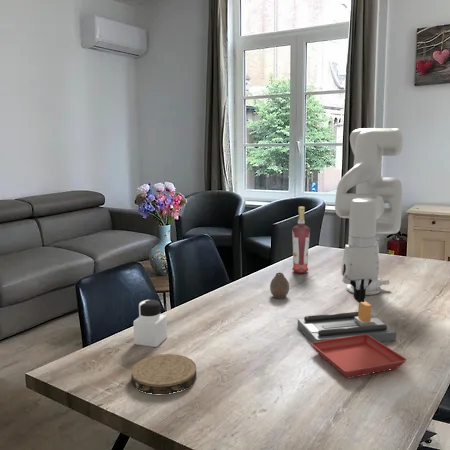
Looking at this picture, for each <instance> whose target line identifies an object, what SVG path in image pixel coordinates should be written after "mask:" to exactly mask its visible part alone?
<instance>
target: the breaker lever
mask: <svg viewBox="0 0 450 450" xmlns="http://www.w3.org/2000/svg"><path fill="white" fill-rule="evenodd" d="M357 309H358V310H357V312H358V316H357V317H354V321H355V322H357V323H358V324H359V325H360V326H371V325H374V321H373V320H372V319H371V314H372V304H370V303H369V302H367V301H366V300H364V302H358V308H357Z"/></svg>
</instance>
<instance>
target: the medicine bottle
mask: <svg viewBox="0 0 450 450" xmlns="http://www.w3.org/2000/svg"><path fill="white" fill-rule="evenodd" d="M138 313H139V314H138V315H139V316H138V317H137V318H136V319H135V320H133V323H132V324H133V338H134V339H133V341H134V345H138V346H143V347H150V348H151V347H152V348H157V347H159V345H160V344H162V343H163V342H164V341H165V340H166V339H168V329H167V327H168V326H167V324H168V323H167V315H166V314H161V302H160V301H158V300H156V299H146V300H142V301H140V302H139V304H138Z"/></svg>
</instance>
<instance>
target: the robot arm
mask: <svg viewBox="0 0 450 450" xmlns="http://www.w3.org/2000/svg"><path fill="white" fill-rule="evenodd" d="M349 142H350V148H351V152H352V153H353V157H354V158H353V159H354V160H353V167H352V168H350V169H349V170H348V171H347V172H346V173H345V174H344V175H343V176H342V177H340V180H339V181H338V183H337V185H336V186H337V187H336V193H335V200H334V212H335V214H336V216H338V217H339V218H343V219H348V220H349V221H348V241H347V242H348V244H345V246H344V250H343V254H342V261H341V271H340V272H341V273H340V274H341V276H343V277H342V283H344V284H345V285H346V287H345V288H346V290H347V291H348V292H350V293H352V294H353V299H354V300H355V301H356V302H357V303H359V302H364V301H365V299H366V296H373V295H377V294H380V293H381V292H382V285H383V286H384V285H385V286H388V285H390V280H389V279H383V278H379V277H378V276H379V274H380V257H379V248H380V246H379V241H380V236H379V235H377V234H384V235H395V234H397V233H399V231H400V229H401V226H402V212H403V211H402V210H403V209H402V208H403V185H402V181H401V180H400V179H399V178H397V177H388V176H387V177H383V176H382V166H383V165H382V161H383V160H382V158H383V157H385V156H386V157H388V156H389V157H392V156H393V157H397V156H399V155H400V154H401V153H402V150H403V146H404V137H403V133H402V131H401V129H400V128H398V127H397V128H396V127H395V128H394V127H393V128H391V127H389V128H388V127H387V128H386V127H385V128H384V127H383V128H382V127H381V128H378V127H367V128H365V127H363V128H357V129H354V130H353V131H351V132H350V135H349ZM355 186H356V187H355ZM353 187H355V193H352V192H351V193H347V192H348V191H349V190H350V189H351V188H353ZM385 205H387V206H388V207H385Z"/></svg>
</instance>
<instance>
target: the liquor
mask: <svg viewBox="0 0 450 450" xmlns="http://www.w3.org/2000/svg"><path fill="white" fill-rule="evenodd" d="M297 208H298V209H297V211H298V218H297V224H296V225H294V226H293V227H292V228H291V229H292V230H291V231H292V232H291V233H292V234H291V235H292V265H293V267H292V268H291V270H292V271H293V272H295V274H303V275H304V274H305V273H307V272H308V271H309V268H308V266H309V265H308V262H309V261H308V260H309V249H310V247H309V246H310V232H311V228H310V227H309V226H308V225H306V224H305V223H306V221H305V210H306V207H305V206H298V207H297Z"/></svg>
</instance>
